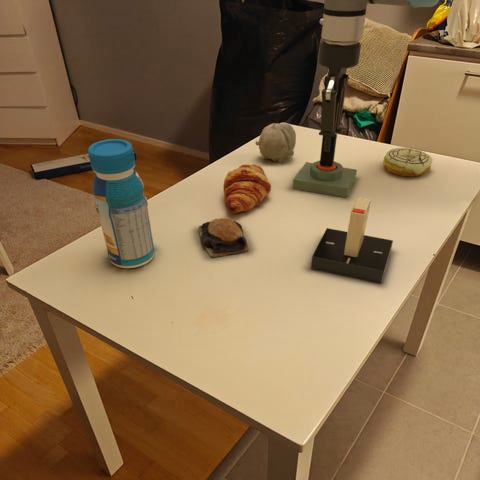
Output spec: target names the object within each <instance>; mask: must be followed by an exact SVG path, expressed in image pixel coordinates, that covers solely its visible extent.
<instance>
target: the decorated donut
mask: <svg viewBox="0 0 480 480" xmlns="http://www.w3.org/2000/svg"><path fill="white" fill-rule="evenodd" d="M432 164H433V158H432V156H431V155H429V154H427V153H426V152H423V151H422V150H419V149H414V148H409V147H397V148H392V149H390V150H387V151H386V153H385V155H384V157H383V165H384V167H385V169H386V170H387V171H388V172H389V173H393V174H395V175H397V176H402V177H416V176H418V177H420V176H423V175H425V174H427V173H428V172H429V171H430V170H431V167H432Z"/></svg>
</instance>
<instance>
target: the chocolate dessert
mask: <svg viewBox="0 0 480 480" xmlns="http://www.w3.org/2000/svg"><path fill="white" fill-rule="evenodd" d="M198 233H199V237H200V240H201V243H202V245H203V247H204V250H205V251H206V253H207V254H208V256H209V257H210V258H218V257H222V256H223V257H228V255H229V256H230V255H237V254H241V253H246V252H249V251H250V247H249V245H248V243H247V239H246V237H245V236H244V229H243V226H242V224H241V223H239V222H238V221H235V220H233V219H230V218H226V217H222V218H221V217H220V218H215V219H212V220H211V221H206V222H204V223H202V224H201V225H200V226H199V225H198Z"/></svg>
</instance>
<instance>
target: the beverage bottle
mask: <svg viewBox="0 0 480 480" xmlns="http://www.w3.org/2000/svg"><path fill="white" fill-rule="evenodd" d="M87 154H88V159H89V163H90V167H91V169H92V171H93V172H94V174H95V175H94V178H93V182H92V195H93V197H94V198H95V203H94V205H95V211H96V213H97V215H98V219H99V222H100V227H101V230H102V234H103V238H104V242H105V246H106V250H107V256H108V259H109V262H110V263H111V264H113V266H116V267H118V268H121V269H134V268H135V269H136V268H139V267H142V266H144V265H146V264H148V263H149V262H151V261H152V259H153V258H154V257H155V253H156V251H155V245H154V240H153V234H152V228H151V220H150V214H149V209H148V206H149V204H148V203H149V202H148V197H147V196H146V195H147V194H145V193H144V191H145V184H144V181H143V180H142V178H141V176H140V175H139V174H138V172H137V171H136V170H135V169H134V168H135V167H136V157H135V151H134V147H133V144H132V143H131V142H129V141H128V140H125V139H119V138H109V139H104V140H100V141H97V142H93V143H92V144H91V145H90V146H88V149H87Z"/></svg>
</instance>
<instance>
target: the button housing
mask: <svg viewBox="0 0 480 480" xmlns="http://www.w3.org/2000/svg"><path fill="white" fill-rule="evenodd" d="M319 163H320V160H317V161H314V162H308V161H305V163H304V164H303V165H302V167H301V168H300V170H298V173H296V175H295V177H294V178H293V179H292V189H293V190H299V191H304V192H310V193H317V194H322V195H329V196H335V197H341V198H347V197H348V194H349V193H350V191H351V189H352V187H353V185H354V183H355V181H356V178H357V172H358V169H356V168H348V167H344V166H343V165H342V164H341V163H340V162H337V161H335V160H334V164H335V165H336V170H333V171H323V170H319V169H317V166H318V164H319Z"/></svg>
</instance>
